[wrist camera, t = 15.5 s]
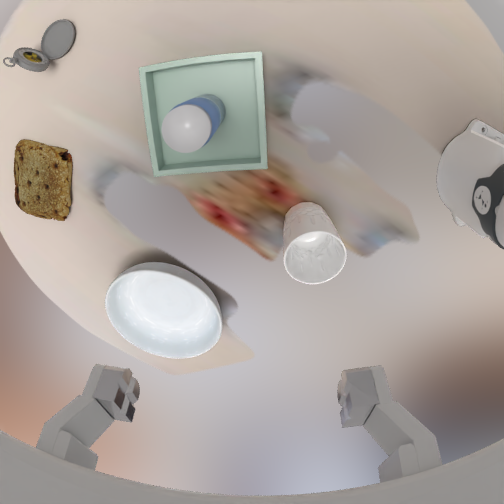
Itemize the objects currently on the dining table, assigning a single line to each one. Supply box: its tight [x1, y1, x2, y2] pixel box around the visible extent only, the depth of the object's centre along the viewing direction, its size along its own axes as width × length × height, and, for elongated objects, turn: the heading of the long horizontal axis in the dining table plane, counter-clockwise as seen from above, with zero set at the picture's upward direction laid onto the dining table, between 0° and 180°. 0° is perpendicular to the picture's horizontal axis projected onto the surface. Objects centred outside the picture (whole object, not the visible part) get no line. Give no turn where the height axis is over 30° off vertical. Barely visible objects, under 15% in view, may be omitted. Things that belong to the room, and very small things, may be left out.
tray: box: [139, 52, 268, 177], centre depth 35 cm, size 15×15×4 cm
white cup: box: [283, 202, 347, 284], centre depth 41 cm, size 8×8×10 cm
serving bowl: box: [105, 262, 222, 359], centre depth 51 cm, size 21×21×7 cm
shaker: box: [161, 94, 226, 153], centre depth 31 cm, size 5×5×12 cm
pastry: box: [14, 140, 73, 221], centre depth 40 cm, size 17×17×3 cm
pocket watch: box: [3, 19, 75, 72], centre depth 25 cm, size 8×8×10 cm
